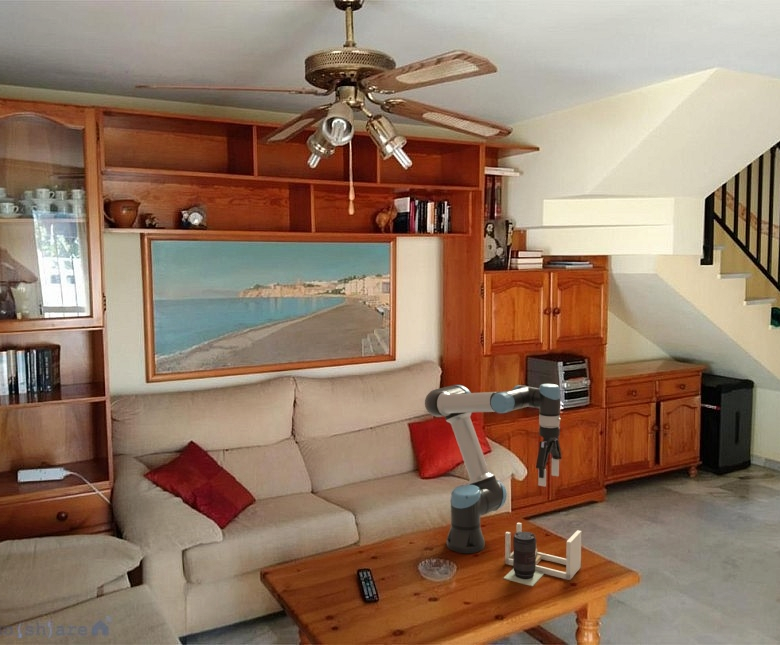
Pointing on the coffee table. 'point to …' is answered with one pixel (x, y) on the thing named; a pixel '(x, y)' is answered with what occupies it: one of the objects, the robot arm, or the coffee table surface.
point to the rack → (570, 561)
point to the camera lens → (524, 555)
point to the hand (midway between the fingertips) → (548, 480)
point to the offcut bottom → (538, 559)
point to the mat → (529, 582)
